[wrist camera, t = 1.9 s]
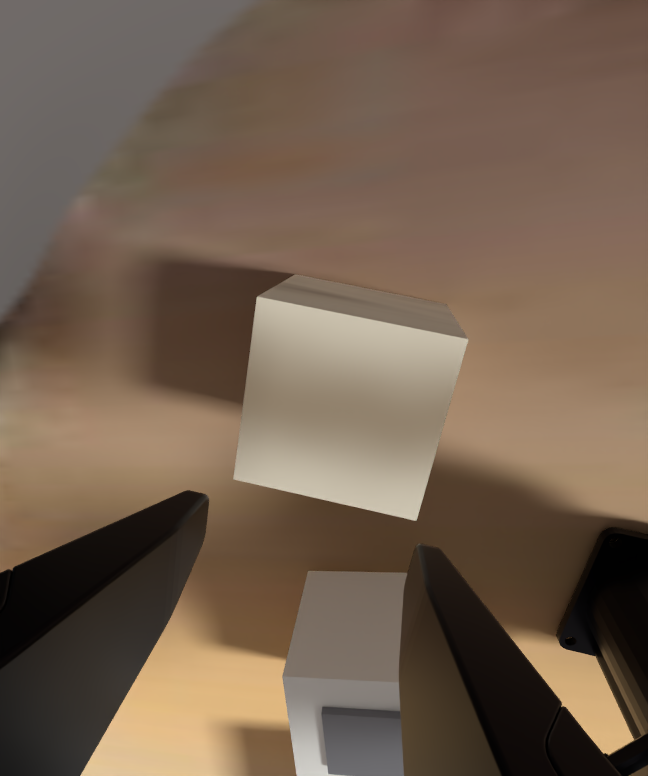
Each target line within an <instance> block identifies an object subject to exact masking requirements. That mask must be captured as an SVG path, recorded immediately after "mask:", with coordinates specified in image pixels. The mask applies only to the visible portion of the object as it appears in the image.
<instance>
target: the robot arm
mask: <svg viewBox="0 0 648 776" xmlns="http://www.w3.org/2000/svg"><path fill="white" fill-rule="evenodd" d="M208 507H209V498H208V496H207V495H206V494H203V493H198V492H194V491H190V490H187V491H184V492H182V493H179V494H177V495H175V496H173V497H170V498H168V499H166V500H164V501H161V502H159V503H157V504H155V505H152V506H150V507H148V508H146V509H143V510H141V511H139V512H137V513H134V514H132V515H130V516H128V517H125V518H123V519H121V520H119V521H116V522H114V523H112V524H110V525H107V526H105V527H103V528H101V529H98V530H96V531H94V532H92V533H89V534H87V535H85V536H83V537H80V538H78V539H76V540H74V541H71V542H69V543H67V544H65V545H62V546H60V547H58V548H56V549H53V550H51V551H49V552H47V553H44V554H42V555H40V556H38V557H35V558H33V559H31V560H29V561H26V562H24V563H22V564H20V565H17V566H15V567H14V568H13V570H10V569H9V570H6V571H4V572H1V573H0V776H80V775H81V773H82V772H83V770H84V768H85V766H86V765H87V763H88V761H89V759H90V758H91V756H92V754H93V752H94V751H95V749H96V747H97V746H98V744H99V742H100V740H101V739H102V737H103V735H104V733H105V732H106V730H107V728H108V726H109V725H110V723H111V721H112V719H113V718H114V716H115V714H116V712H117V711H118V709H119V707H120V705H121V704H122V702H123V700H124V699H125V697H126V695H127V693H128V692H129V690H130V688H131V686H132V685H133V683H134V681H135V679H136V678H137V676H138V674H139V672H140V671H141V669H142V667H143V665H144V664H145V662H146V660H147V659H148V657H149V655H150V653H151V652H152V650H153V648H154V646H155V645H156V643H157V641H158V639H159V638H160V636H161V634H162V632H163V631H164V629H165V627H166V625H167V623H168V621H169V620H170V618H171V615H172V613H173V611H174V609H175V607H176V604H177V602H178V600H179V597H180V595H181V593H182V590H183V588H184V586H185V584H186V581H187V579H188V577H189V574H190V572H191V570H192V567H193V565H194V563H195V560H196V558H197V556H198V554H199V551H200V549H201V547H202V544H203V541H204V538H205V533H206V525H207V516H208ZM614 538H618V539H617V541H615V542H610V541H611V539H614ZM556 636H557V638H558V641H559V643H560V645H561V646H562V647H563V648H565V649H567V650H572V651H576V652H580V653H584V654H588V655H592V656H596V658H597V660H598V663H599V665H600V667H601V669H602V671H603V673H604V676H605V678H606V680H607V682H608V684H609V686H610V689H611V691H612V693H613V695H614V697H615V699H616V702H617V704H618V706H619V708H620V710H621V712H622V715H623V717H624V719H625V721H626V723H627V725H628V727H629V730H630V732H631V734H632V736H633V738H634V741H632V742H630V743H628V744H627V745H625V746H623V747H622V748H620V749H618V750H616V751H615V752H613V753H611V754H610V755H608V754H606V753H605V754H603V753H602V752H601V750H600V749H599V748H598V747H597V745H596V744H595V743H594V742H593V741H592V739H591V738H590V737H589V736H588V735H587V733H586V732H585V731H584V730H583V728H582V727H581V726H580V725H579V723H578V722H577V721H576V720H575V718H574V717H573V716H572V714H571V713H570V712H569V711H568V709H567V708H566V707H561V706H562V703H561V701H560V700H559V698H558V697H557V696H556V695H555V693H554V692H553V691H552V689H551V688H550V687H549V686H548V684H547V683H546V682H545V681H544V679H543V678H542V677H541V676H540V674H539V673H538V672H537V670H536V669H535V668H534V667H533V665H532V664H531V663H530V662H529V660H528V659H527V658H526V657H525V655H524V654H523V653H522V651H521V650H520V649H519V648H518V646H517V645H516V644H515V643H514V641H513V640H512V639H511V638H510V636H509V635H508V634H507V633H506V631H505V630H504V629H503V627H502V626H501V625H500V624H499V622H498V621H497V620H496V619H495V617H494V616H493V615H492V614H491V612H490V611H489V610H488V608H487V607H486V606H485V605H484V603H483V602H482V601H481V600H480V598H479V597H478V596H477V595H476V593H475V592H474V591H473V589H472V588H471V587H470V586H469V584H468V583H467V582H466V581H465V579H464V578H463V577H462V576H461V574H460V573H459V572H458V571H457V569H456V568H455V567H454V565H453V564H452V563H451V562H450V560H449V559H448V558H447V557H446V555H445V554H444V553H443V552H442V550H441V549H439V548H437V547H433V546H428V545H424V544H418V545H417V546H416V547H415V549H414V553H413V556H412V559H411V563H410V566H409V570H408V573H407V577H406V580H405V585H404V593H403V608H402V624H401V640H400V656H399V697H400V715H401V733H402V751H403V770H404V776H648V535H647V534H642V533H638V532H633V531H629V530H624V529H620V528H613V527H611V528H607V529H605V530H604V531H602V533H601V534H600V536H599V538H598V540H597V543H596V545H595V547H594V549H593V552H592V554H591V556H590V558H589V561H588V563H587V565H586V567H585V570H584V572H583V574H582V576H581V579H580V581H579V583H578V585H577V588H576V590H575V592H574V594H573V597H572V599H571V601H570V603H569V606H568V608H567V610H566V612H565V615H564V617H563V619H562V621H561V624H560V626H559V628H558V630H557V634H556ZM568 637H572V638H569V639H566V638H568Z"/></svg>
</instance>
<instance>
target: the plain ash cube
mask: <svg viewBox="0 0 648 776" xmlns="http://www.w3.org/2000/svg"><path fill="white" fill-rule="evenodd" d="M467 342H468V338H467V336H466V335H465V333H464V331H463V330H462V328H461V327H460V325H459V323H458V322H457V320H456V319H455V317H454V315H453V314H452V312H451V311H450V309H449V307H448V306H447V304H443V303H438V302H433V301H428V300H423V299H418V298H413V297H408V296H403V295H398V294H393V293H388V292H383V291H378V290H373V289H368V288H363V287H358V286H353V285H348V284H343V283H338V282H332V281H327V280H322V279H317V278H312V277H307V276H302V275H297V274H295V275H293V276H292V277H290V278H288V279H286V280H285V281H283V282H281V283H280V284H278V285H276V286H274V287H273V288H271V289H269V290H267V291H266V292H264V293H262V294H260V295H259V296H257V300H256V308H255V316H254V323H253V331H252V339H251V347H250V354H249V362H248V370H247V378H246V385H245V393H244V401H243V409H242V416H241V424H240V432H239V440H238V448H237V455H236V463H235V471H234V480H239V481H243V482H247V483H252V484H256V485H261V486H265V487H269V488H274V489H278V490H283V491H287V492H291V493H296V494H300V495H305V496H309V497H313V498H318V499H322V500H327V501H331V502H335V503H340V504H344V505H349V506H353V507H357V508H362V509H366V510H370V511H375V512H379V513H384V514H388V515H392V516H397V517H401V518H406V519H410V520H414V521H417V517H418V514H419V510H420V507H421V503H422V500H423V496H424V493H425V489H426V486H427V482H428V479H429V475H430V472H431V468H432V465H433V461H434V458H435V454H436V451H437V447H438V444H439V440H440V437H441V433H442V430H443V426H444V423H445V419H446V416H447V412H448V409H449V405H450V402H451V398H452V395H453V391H454V388H455V384H456V381H457V377H458V374H459V370H460V367H461V363H462V360H463V356H464V353H465V349H466V346H467Z"/></svg>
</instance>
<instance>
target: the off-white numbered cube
mask: <svg viewBox="0 0 648 776" xmlns="http://www.w3.org/2000/svg"><path fill="white" fill-rule="evenodd" d="M406 577H407V573H396V572H343V571H308V573H307V577H306V581H305V586H304V590H303V594H302V598H301V602H300V606H299V610H298V614H297V618H296V623H295V627H294V631H293V635H292V639H291V643H290V647H289V651H288V655H287V660H286V664H285V668H284V672H283V676H282V677H283V684H284V691H285V698H286V705H287V712H288V719H289V726H290V733H291V740H292V746H293V753H294V760H295V767H296V774H297V776H404V770H403V751H402V733H401V715H400V697H399V656H400V640H401V624H402V608H403V593H404V585H405V580H406Z"/></svg>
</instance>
